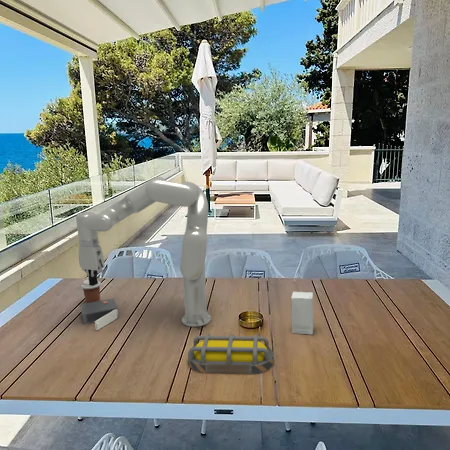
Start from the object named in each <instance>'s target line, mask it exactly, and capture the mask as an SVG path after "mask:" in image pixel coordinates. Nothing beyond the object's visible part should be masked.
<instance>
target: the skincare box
mask: <svg viewBox="0 0 450 450" xmlns="http://www.w3.org/2000/svg"><path fill="white" fill-rule="evenodd" d="M290 299H291V302H290V303H291V330H292V331H291V332H292V334H299V335H313V334H314V324H315V323H314V292H311V291H310V292H309V291H307V292H306V291H292V294H291V298H290Z"/></svg>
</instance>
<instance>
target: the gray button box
mask: <svg viewBox="0 0 450 450" xmlns="http://www.w3.org/2000/svg"><path fill="white" fill-rule="evenodd" d="M115 309H118V310H119V308H118V305H117V302H116V300H115V298H109V299H108V298H107V299H103V300H102V299H101V300H100V301H95V302H91V303H86V302H85V303H82V304H80V311H81V317H82V321H83V325H86V324H91V323H95V321H96V320H98V319H100V318H101V317H103V316H105V315H107V314H108V313H110V312H112V311H113V310H115ZM119 313H120V312H118V317H120V315H119Z"/></svg>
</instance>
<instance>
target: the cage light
mask: <svg viewBox="0 0 450 450" xmlns="http://www.w3.org/2000/svg"><path fill="white" fill-rule="evenodd" d="M198 341H200V342H198ZM269 343H270V342H269V339H268V338H267V337H266V336H258V334H255V333H254V335H253V336H251V335H250V336H248V335H247V336H246V335H245V336H244V335H241V336H240V335H236V336H235V335H234V334H233V333H231V334H229V335H210V333H207V334H206V335H197V336H195V337H194V338H193V346H192V347H191V348H190V349H189V350H188V351H187V360H188V366H189V368H190V367H191V368H192V369H191V368H190V369H191V370H193V371H194V370H195V372H197V371H198V372H197V373H200V372H203V373H202V374H224V375H225V374H227V375H228V374H231V375H233V374H234V375H259V374H262V373H265V372H268V371H269V370H270V369H271V368H272V367H273V365H274V351H273V350H272V348H271V347H270V346H269Z"/></svg>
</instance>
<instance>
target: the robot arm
mask: <svg viewBox="0 0 450 450" xmlns="http://www.w3.org/2000/svg"><path fill="white" fill-rule="evenodd" d="M156 202H157V203H162V204H166V205H172V206H177V207H187V213H186V214H187V215H186V224H185V225H186V227H185V232H184V234H183V239H182V243H181V254H180V265H179V268H180V269H179V270H180V274H181V275H182V290H183V301H184V302H183V305H184V315H183V316H182V317H181V322H182V324H183V325H185V326H187V327H192V328H196V327H197V328H198V327H203V326H206V325H207V324H209V323H210V322H211V321H212V316H211V315H210V314H209V313H208V306H207V305H208V304H207V292H206V291H207V288H206V285H207V283H206V265H205V263H206V255H207V245H208V233H207V232H208V230H207V229H208V221H209V203H208V199H207V196H206V194H205V192H204V190H202V188H201V187H200V186H199V185H197V184H195V183H194V182H192V181H185V182H182V183H177V182H172V181H167V179H165V178H164V177H163V176H155V177H153V178H151V179H150V180H148V181H146V182H145V183H144V184H142V185H140V186H139V187H137V188H135V189H134V190H132V191H130V192H129V193H128V194H126V195H125V196H124V197H123V198H121V199H120V200H118V201H117V202H115V203H113V204H112V205H110V206H109V207H107V208H104V210H102V211H101V212H99V213H96V214H95V212H91V211H86V212H80V213H77V215H76V216H75V219H76V228H77V229H76V230H77V235H78V245H79V246H78V262H79V264H78V265H79V267H80V268H81V270H82V271H83V272H85V273H86V276H87V277H88V279H89V285H90V286H94V285H96V284H98V281H99V279H98V275H99V274H101V273H103V272H104V270H103V268H105V259H104V253H103V250H102V247H101V245H100V240H99V235H98V232H102V233H103V232H107V231H110V230H111V229H112V228H113V227H114V226H115V225H117V224H119V222H121V221H123V220H124V219H126V218H127V217H129V216H131V215H133V214H138V213H140V212H141V211H143V210H145V209H147V208H149V207H150V206H152V205H153V204H155V203H156ZM97 279H98V280H97Z"/></svg>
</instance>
